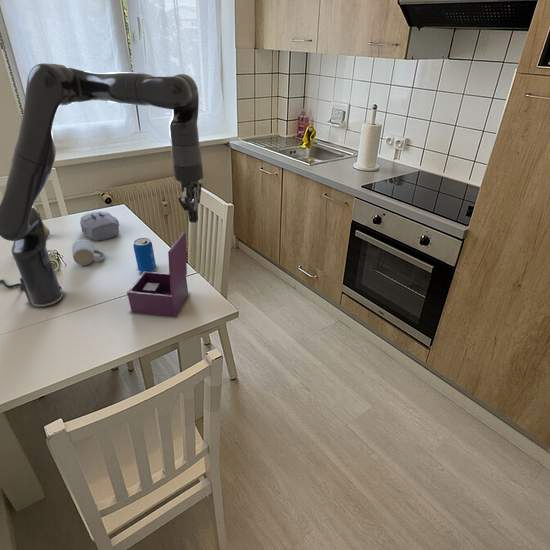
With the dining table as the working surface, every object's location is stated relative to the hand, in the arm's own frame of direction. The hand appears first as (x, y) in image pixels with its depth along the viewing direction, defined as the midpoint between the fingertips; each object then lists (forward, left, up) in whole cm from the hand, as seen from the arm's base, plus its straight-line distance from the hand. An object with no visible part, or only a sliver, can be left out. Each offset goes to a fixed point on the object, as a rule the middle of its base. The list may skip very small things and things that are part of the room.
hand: (193, 221), depth 111 cm
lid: (-7, 0, -15) cm, 16 cm away
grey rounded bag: (-61, +46, -31) cm, 83 cm away
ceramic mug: (-52, +22, -31) cm, 65 cm away
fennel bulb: (-55, +56, -27) cm, 83 cm away
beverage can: (-27, +19, -31) cm, 45 cm away
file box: (-14, 0, -31) cm, 34 cm away
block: (-17, 0, -30) cm, 34 cm away
